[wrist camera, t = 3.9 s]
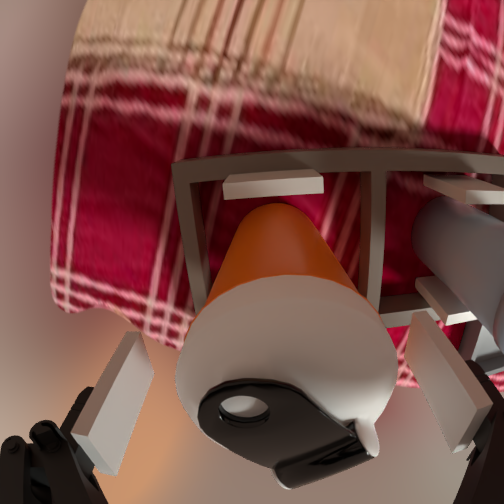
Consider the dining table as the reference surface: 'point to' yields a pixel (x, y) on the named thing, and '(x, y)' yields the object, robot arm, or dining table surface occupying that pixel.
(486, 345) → the tray
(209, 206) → the dining table surface
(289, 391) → the shaker bottle
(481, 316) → the canister
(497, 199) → the rack
